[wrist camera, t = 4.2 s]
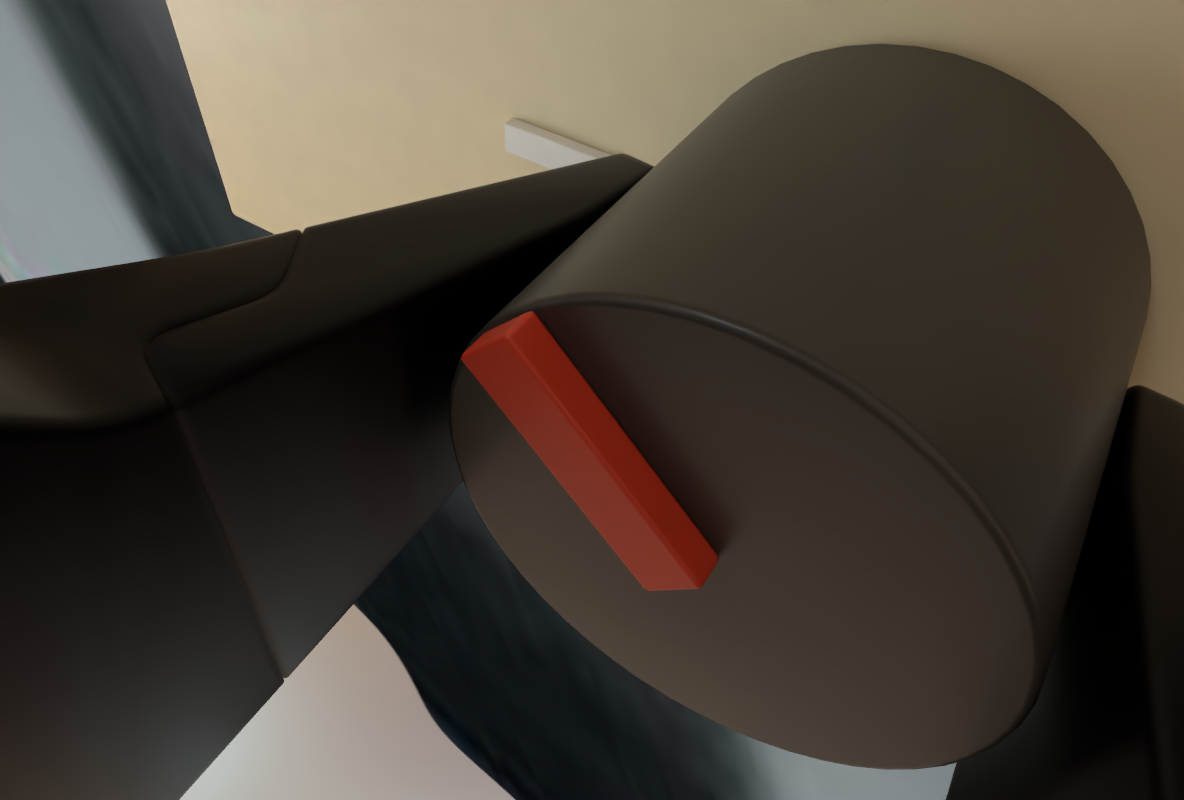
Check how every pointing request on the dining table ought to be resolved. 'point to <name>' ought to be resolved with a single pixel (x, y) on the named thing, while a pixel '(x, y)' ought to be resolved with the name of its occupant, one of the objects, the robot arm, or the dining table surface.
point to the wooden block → (638, 95)
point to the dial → (825, 405)
